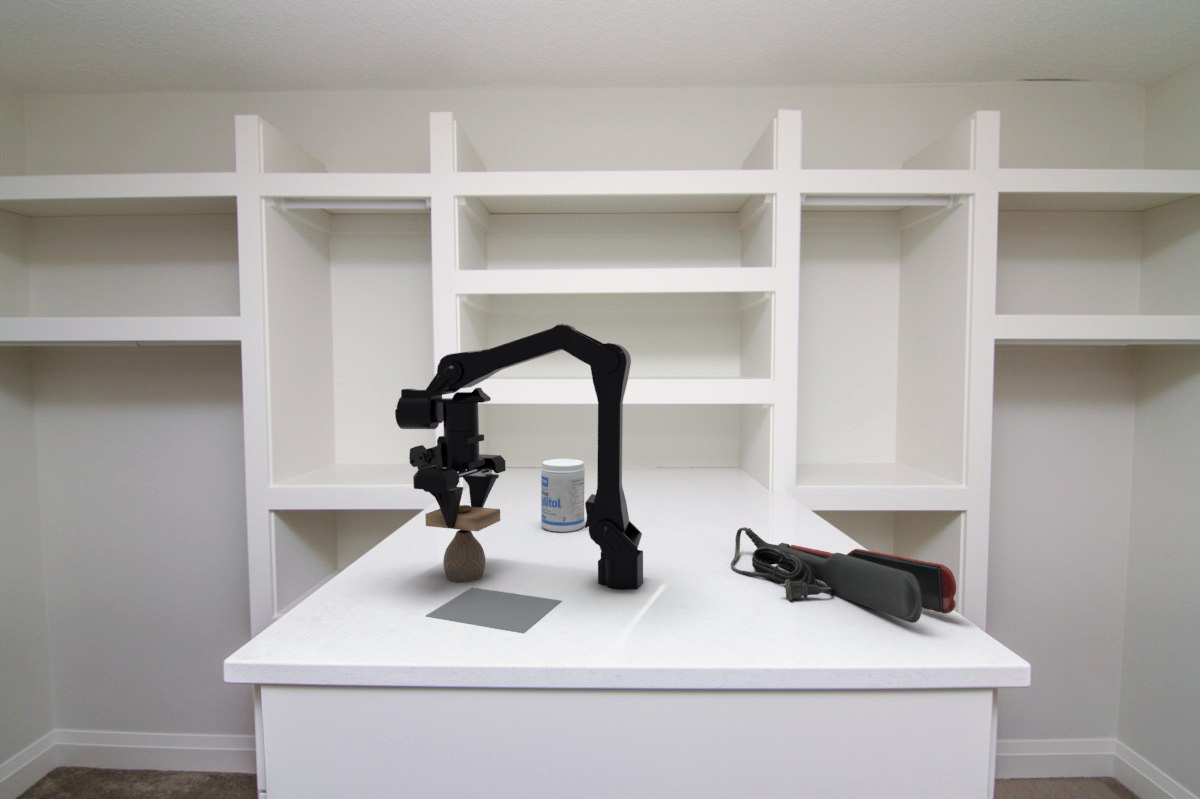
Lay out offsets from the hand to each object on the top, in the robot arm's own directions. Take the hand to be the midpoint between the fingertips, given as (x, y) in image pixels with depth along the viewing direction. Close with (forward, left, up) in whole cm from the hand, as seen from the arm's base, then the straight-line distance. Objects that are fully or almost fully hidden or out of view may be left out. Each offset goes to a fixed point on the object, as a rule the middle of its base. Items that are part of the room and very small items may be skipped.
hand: (463, 522), depth 106 cm
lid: (0, 0, 0) cm, 0 cm away
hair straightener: (-57, -18, -11) cm, 61 cm away
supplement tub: (-1, -37, -10) cm, 38 cm away
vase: (0, 0, -10) cm, 11 cm away
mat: (-12, +10, -10) cm, 19 cm away
